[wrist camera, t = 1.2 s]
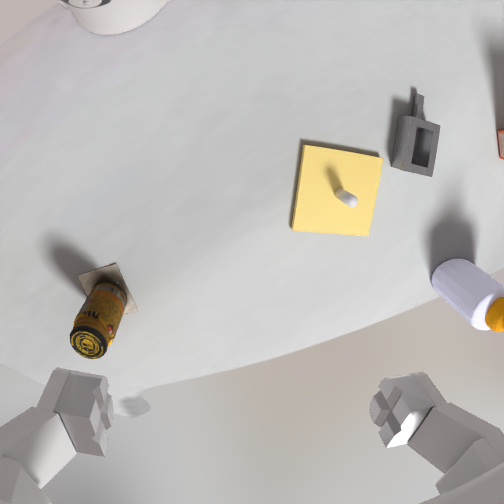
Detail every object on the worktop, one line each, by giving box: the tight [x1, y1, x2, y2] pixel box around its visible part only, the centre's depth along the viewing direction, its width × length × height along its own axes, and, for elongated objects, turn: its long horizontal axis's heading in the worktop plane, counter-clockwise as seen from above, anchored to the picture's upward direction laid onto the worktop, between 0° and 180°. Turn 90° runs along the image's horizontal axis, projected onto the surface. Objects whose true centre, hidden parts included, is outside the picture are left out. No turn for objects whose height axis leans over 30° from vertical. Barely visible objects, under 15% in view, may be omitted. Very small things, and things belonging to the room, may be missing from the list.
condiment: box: [70, 264, 138, 359], centre depth 41 cm, size 7×8×12 cm
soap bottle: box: [431, 259, 504, 332], centre depth 45 cm, size 13×8×20 cm, turn 80°
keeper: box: [291, 144, 383, 236], centre depth 42 cm, size 12×12×6 cm
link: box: [391, 94, 440, 177], centre depth 41 cm, size 12×6×4 cm, turn 174°
